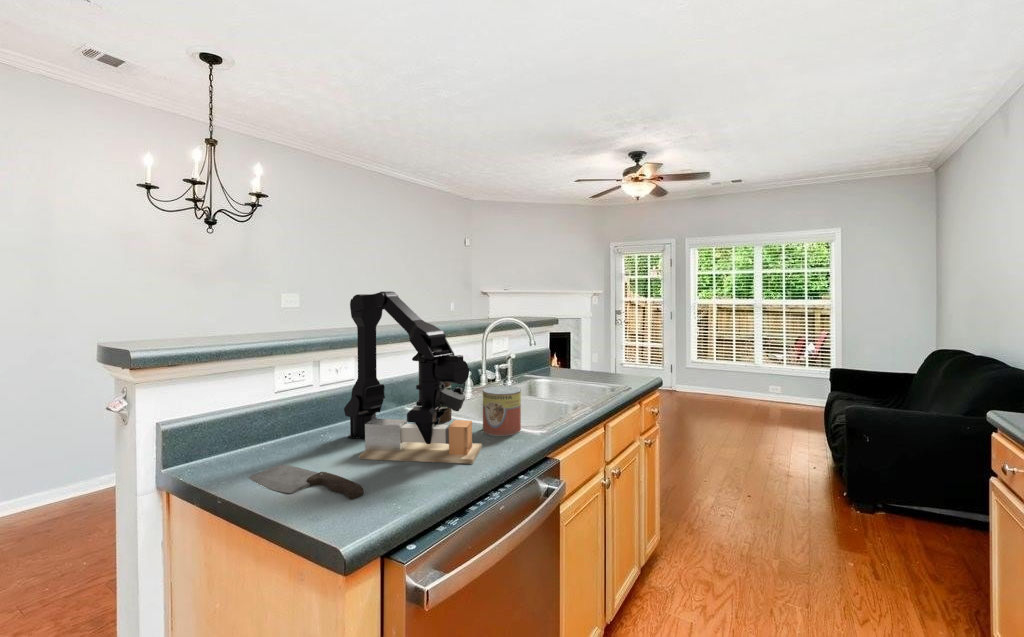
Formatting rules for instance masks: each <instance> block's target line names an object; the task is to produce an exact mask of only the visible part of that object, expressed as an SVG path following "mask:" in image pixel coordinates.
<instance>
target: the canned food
mask: <svg viewBox="0 0 1024 637" xmlns="http://www.w3.org/2000/svg"><path fill="white" fill-rule="evenodd" d="M521 402H522V389H521V388H520V387H516V386H513V385H510V386H509V385H495V386H488V387H484V388H483V389H482V432H483V433H484V434H486V435H489V436H496V437H506V436H515V435H517V434H519V433H520V432H519V431H520V430H521V431H522V426H521V425H522V424H521V423H522V418H521V417H522V410H521V409H522V408H521V407H522V406H521V405H522V403H521ZM518 432H519V433H518Z"/></svg>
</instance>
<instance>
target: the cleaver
mask: <svg viewBox="0 0 1024 637" xmlns="http://www.w3.org/2000/svg"><path fill="white" fill-rule="evenodd" d="M247 478H248V479H249V480H251V481H253V482H254V483H255V482H256V483H255V484H257V483H258V484H257V485H259V486H260V485H262V486H264V487H266V488H265V489H267V488H268V490H271V491H274V492H275V491H276V492H281V493H284V494H285V493H286V494H294V493H298V492H301V491H302V490H305V489H307V488H309V487H314V486H319V485H320V486H324V487H326V488H327V489H328V490H330V491H331V492H333V493H339V494H342V495H344V496H346V497H347V498H349V499H350V500H353V499H356V498H359V497H361V496H362V495H364V487H363V486H362V485H361V484H360V483H357V482H355V481H352V480H350V479H347V478H345V477H343V476H340V475H337V474H333V473H330V472H327V471H319V472H317V471H314V470H313V471H312V470H309V469H305V468H301V467H297V466H292V465H287V464H279V465H276V466H273V467H270V468H268V469H264V470H262V471H260V472H258V471H257V472H256V473H253V474H251V475H249V476H247ZM262 486H261V487H262ZM264 487H263V488H264Z"/></svg>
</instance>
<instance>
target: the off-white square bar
mask: <svg viewBox="0 0 1024 637" xmlns="http://www.w3.org/2000/svg"><path fill="white" fill-rule="evenodd" d="M450 425H451V424H439V425H434V426H433V433H432V440H431V443H444V444H449V426H450ZM400 437H401V442H418V443H426V442H425V440H424V438H423V436H422V434H421V432H420V430H419V428H418V427H417V425H416V423H407V424H403V425H402V426H400Z"/></svg>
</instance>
